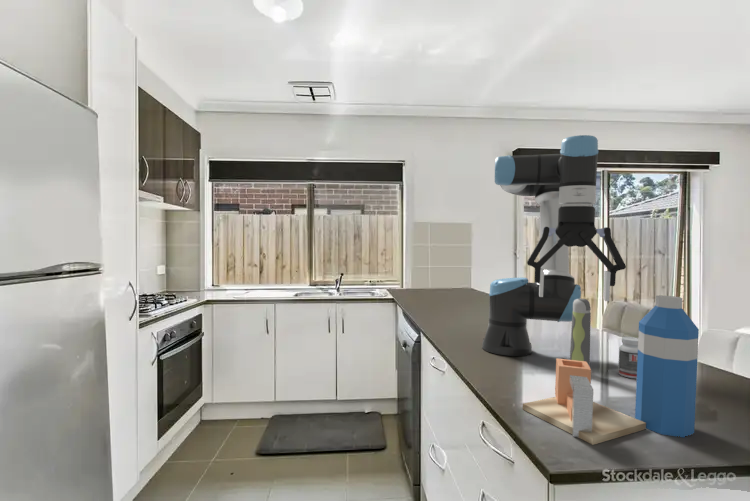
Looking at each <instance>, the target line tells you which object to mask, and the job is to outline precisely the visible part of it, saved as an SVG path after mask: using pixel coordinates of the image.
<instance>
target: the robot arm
mask: <svg viewBox="0 0 750 501" xmlns="http://www.w3.org/2000/svg"><path fill="white" fill-rule="evenodd" d="M598 142H599V139H598V138H597V137H596V136H595V135H590V134H588V135H587V134H583V135H581V134H580V135H572V136H567V137H565V138H564V139H562V140H561V144H560V150H559V153H552V154H551V153H549V154H533V155H532V154H529V155H527V154H526V155H511V154H508V155H503V156H501V155H500V156H497V157H496V158H495V161H494V184H495V185H497V186H499V187H501V189H502V190H503V191H504V192H507V193H509V194H512V195H516V196H520V197H534V201H535V203H536V204H537V205H539V241H538V242H537V244H536V246H535V247H534V249H533V251H532V252H531V254H530V256H529V258H528V259H527V261H526V264H527V266H530V267H533V268H534V282H529V279H528V277H506V278H499V279H495V280H493V281H491V282H490V287H489V294H488V296H489V308H488V325H487V328H486V332H485V334H484V338H483V339H482V350H484V351H486V352H489V353H492V354H496V355H500V356H508V357H510V356H511V357H521V356H522V357H523V356H528V355H531V354H532V343H531V342H530V336H529V332H528V329H527V320H535V321H536V320H537V321H548V322H549V321H550V322H557V323H561V322H563V323H565V322H569V323H570V322H571V323H572V312H573V302H574V300H576V299H582V298H581V296H582V287H581V286H580V285H579V284H577V283H575V277H574V276H573V275H572V274H570V257H569V256H570V254H569V253H570V251H569V250H570V249H569V247H578V248H584V247H586V246H587V248H589V249H590V250H591V251H592V253H593V254H594V255H595V256H596V257H597V258H598V260H599V261H600V262H601V263H602V264H603V265H604V266H605V267H606V269H607V270H604V271H603V291H602V293H603V294H602V299H603V301H605V302H610V295H611V294H610V293H611V292H610V290H611V287H615V285H616V275H617V272H618V271H622V270H625V269H626V268H627V265H626V263H625V261H624V260H623V258H622V256H621V254H620V252H619V250H618V248H617V246H616V245H615V242H614V240H613V238H612V229H611V228H610V227H606V226H605V227H603V228H601V227H600V228H596V225H595V224H596V223H595V222H596V221H595V220H596V207H595V206H593V205H595V204H596V200H597V199H596V198H597V197H596V193H597V175H598V174H597V172H598V159H599V158H598V154H599V152H600V151H599V145H598V144H599V143H598ZM597 234H598V235H599V237H600V238H603V241H604V244H605V245H606V247H607V249H608V251H609V254H610V255H611V257H612V259H613V261H614V263H615V264H613V263H612V261H611V260H610V259H609V258H608V257H607V256H606V255H605V253H603V251H602V249H600V248H599V247H598V245H597V244H596V243H595V242H594V241H593V240H592V239H594V238H595V236H596V235H597ZM538 255H539V260H538V261H536V259H537V258H538Z"/></svg>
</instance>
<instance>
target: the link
mask: <svg viewBox="0 0 750 501" xmlns="http://www.w3.org/2000/svg"><path fill="white" fill-rule="evenodd" d="M570 375H573V376H581V377H587V378H588V380H589V382H590V384H591V385H592V383H591V382H592V381H591V380H592V369H591V366H590V367H589V365H588V363H587V362H586V361H576V360H570V359H568V358H567V359H565V358H557V357H556V358H555V388H554V391H555V392H554V395H555V396H554V397H556V400H557V403H558V404H561V405H566V407H567V410H568V413H569V416H570V420H571V421H572V403H573V390H572V387H571V385H570Z"/></svg>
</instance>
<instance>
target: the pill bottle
mask: <svg viewBox="0 0 750 501" xmlns="http://www.w3.org/2000/svg"><path fill="white" fill-rule="evenodd" d="M621 343H622V344H621V345H620V346H619V348H618V368H617V372H618V374H619V375H620V376H622V377H625V378H629V379H635V380H637V358H638V337H633V336H622V337H621Z"/></svg>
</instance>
